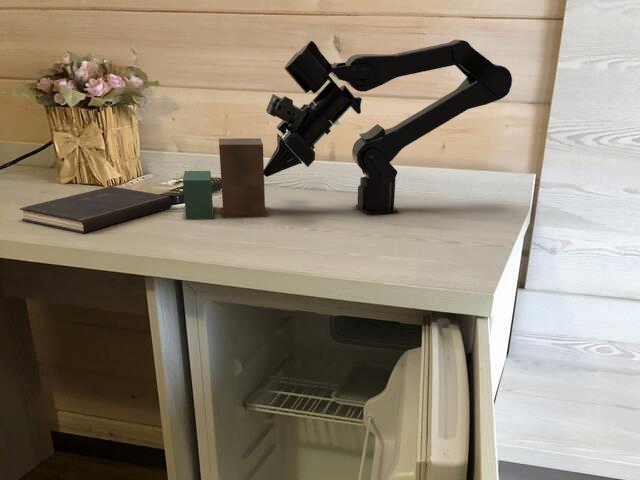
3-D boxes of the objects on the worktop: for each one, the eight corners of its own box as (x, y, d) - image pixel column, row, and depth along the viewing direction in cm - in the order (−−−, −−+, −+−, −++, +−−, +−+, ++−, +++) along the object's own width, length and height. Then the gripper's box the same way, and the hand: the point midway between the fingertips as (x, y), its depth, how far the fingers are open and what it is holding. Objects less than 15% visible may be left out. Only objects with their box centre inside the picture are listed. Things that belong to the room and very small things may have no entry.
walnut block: (263, 207, 147) (260, 138, 141) (265, 216, 142) (263, 144, 135) (223, 208, 146) (218, 138, 140) (223, 217, 140) (218, 144, 134)
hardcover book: (22, 220, 135) (19, 207, 134) (112, 197, 152) (111, 186, 151) (84, 234, 128) (82, 220, 127) (172, 208, 146) (171, 196, 144)
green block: (212, 207, 147) (210, 170, 143) (212, 218, 139) (210, 180, 136) (187, 207, 146) (184, 170, 143) (186, 219, 139) (182, 180, 135)
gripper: (287, 73, 141) (232, 135, 145) (297, 83, 125) (234, 151, 129) (327, 119, 146) (272, 177, 150) (341, 133, 130) (279, 197, 134)
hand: (264, 174), depth 141 cm, fingers closed, pressing on walnut block
